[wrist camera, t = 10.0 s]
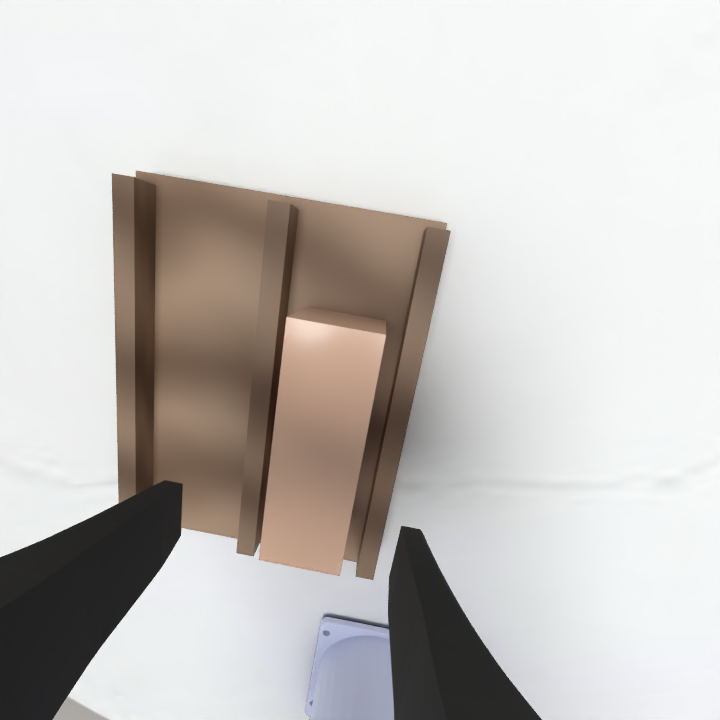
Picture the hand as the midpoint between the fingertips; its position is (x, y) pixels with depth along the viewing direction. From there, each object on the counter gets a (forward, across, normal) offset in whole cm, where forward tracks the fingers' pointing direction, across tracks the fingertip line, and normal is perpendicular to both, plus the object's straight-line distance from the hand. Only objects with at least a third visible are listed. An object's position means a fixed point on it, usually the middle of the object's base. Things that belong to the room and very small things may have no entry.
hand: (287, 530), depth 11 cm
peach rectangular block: (+8, 0, 0) cm, 8 cm away
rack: (+9, +3, -1) cm, 10 cm away
